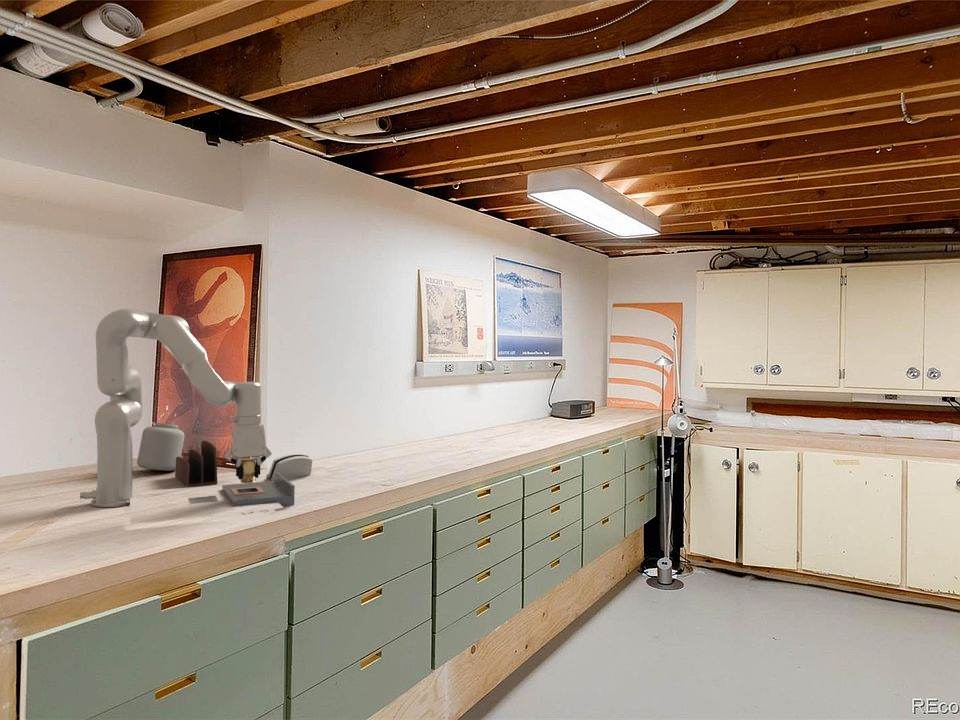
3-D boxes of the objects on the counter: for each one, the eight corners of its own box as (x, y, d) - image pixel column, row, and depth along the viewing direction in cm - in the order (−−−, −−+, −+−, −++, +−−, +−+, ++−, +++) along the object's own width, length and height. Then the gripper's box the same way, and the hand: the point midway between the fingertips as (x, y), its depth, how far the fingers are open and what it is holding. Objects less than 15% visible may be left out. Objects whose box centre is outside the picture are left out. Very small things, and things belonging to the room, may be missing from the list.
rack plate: (233, 511, 195) (233, 491, 195) (222, 494, 216) (222, 476, 216) (294, 504, 204) (294, 485, 203) (278, 489, 225) (278, 471, 224)
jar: (169, 465, 264) (170, 403, 263) (196, 468, 258) (197, 405, 258) (127, 473, 247) (128, 407, 246) (156, 477, 241) (156, 409, 240)
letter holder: (203, 475, 246) (203, 438, 246) (217, 484, 231) (218, 445, 230) (174, 478, 241) (175, 439, 240) (187, 488, 225) (187, 447, 224)
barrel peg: (241, 483, 205) (242, 461, 205) (239, 480, 209) (239, 459, 209) (256, 482, 207) (256, 460, 207) (254, 479, 211) (254, 457, 211)
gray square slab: (190, 508, 197) (190, 503, 196) (188, 502, 204) (188, 498, 203) (218, 506, 200) (218, 501, 200) (215, 500, 207) (215, 495, 207)
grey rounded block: (303, 472, 254) (309, 449, 252) (310, 478, 251) (316, 455, 249) (265, 478, 241) (270, 454, 239) (271, 485, 238) (277, 460, 236)
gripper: (221, 423, 200) (221, 482, 201) (278, 420, 208) (277, 477, 209) (218, 420, 207) (218, 478, 207) (273, 418, 215) (273, 473, 215)
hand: (248, 477), depth 208 cm, fingers closed on barrel peg, 4 cm apart
